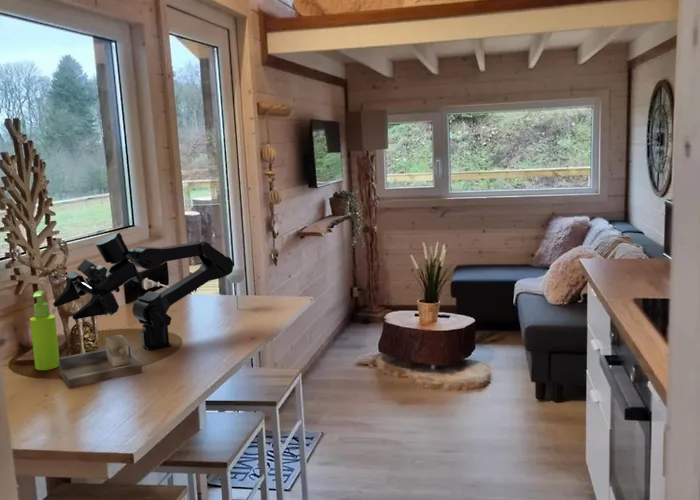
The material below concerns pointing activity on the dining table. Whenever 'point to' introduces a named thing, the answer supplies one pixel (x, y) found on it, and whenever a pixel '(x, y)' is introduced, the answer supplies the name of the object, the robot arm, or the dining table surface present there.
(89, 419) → the dining table surface
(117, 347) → the block
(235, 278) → the lollipop
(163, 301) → the robot arm
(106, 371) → the grey stepped stand
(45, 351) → the soap dispenser
